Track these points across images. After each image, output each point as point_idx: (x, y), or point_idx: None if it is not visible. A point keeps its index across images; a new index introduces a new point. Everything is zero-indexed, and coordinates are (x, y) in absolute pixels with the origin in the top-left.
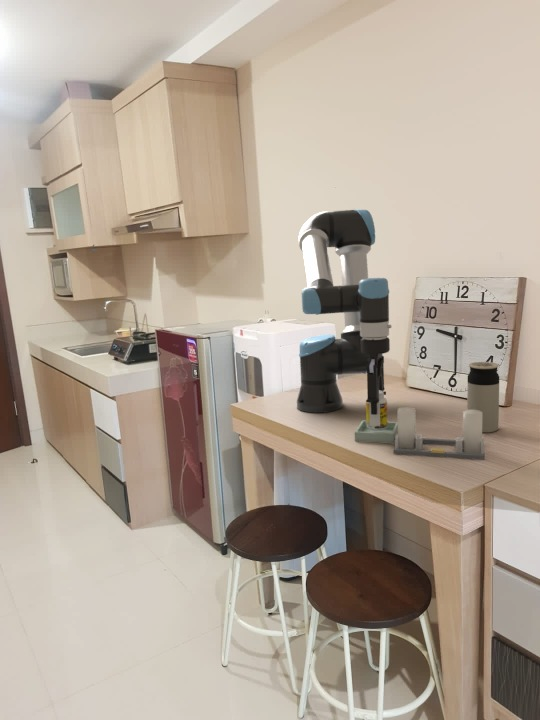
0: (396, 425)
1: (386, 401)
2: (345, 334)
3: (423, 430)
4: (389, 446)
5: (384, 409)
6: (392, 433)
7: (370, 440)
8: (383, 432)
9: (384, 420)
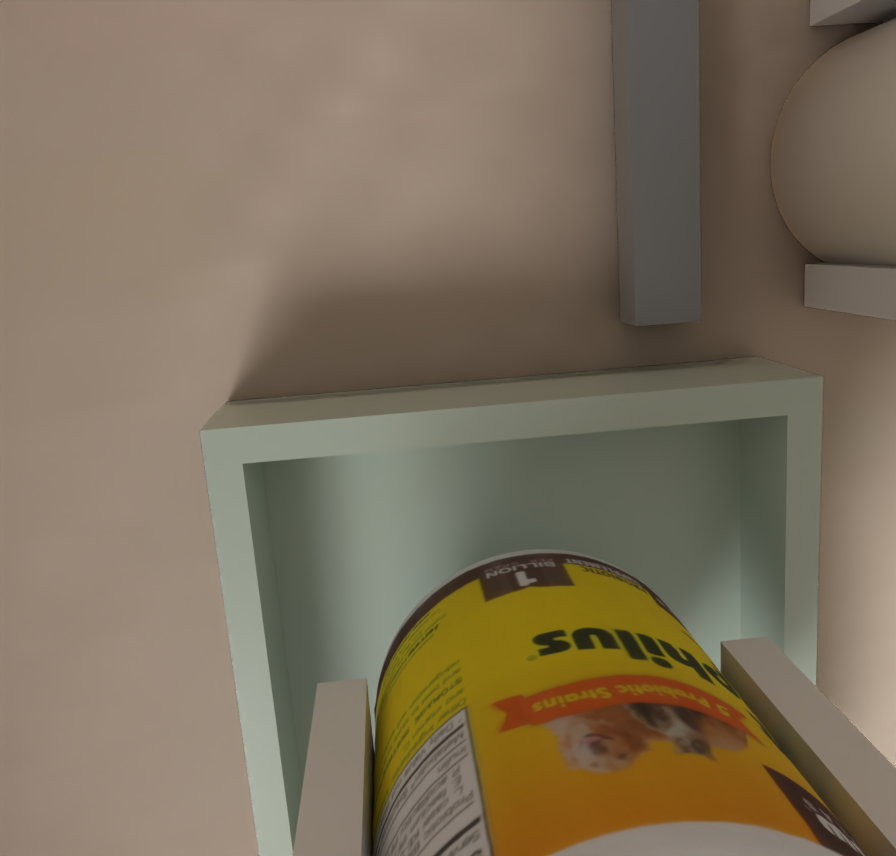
0: (375, 426)
1: (701, 841)
2: None
3: (73, 30)
4: (873, 385)
5: (745, 739)
6: (793, 400)
7: None
8: (439, 574)
9: (655, 620)
